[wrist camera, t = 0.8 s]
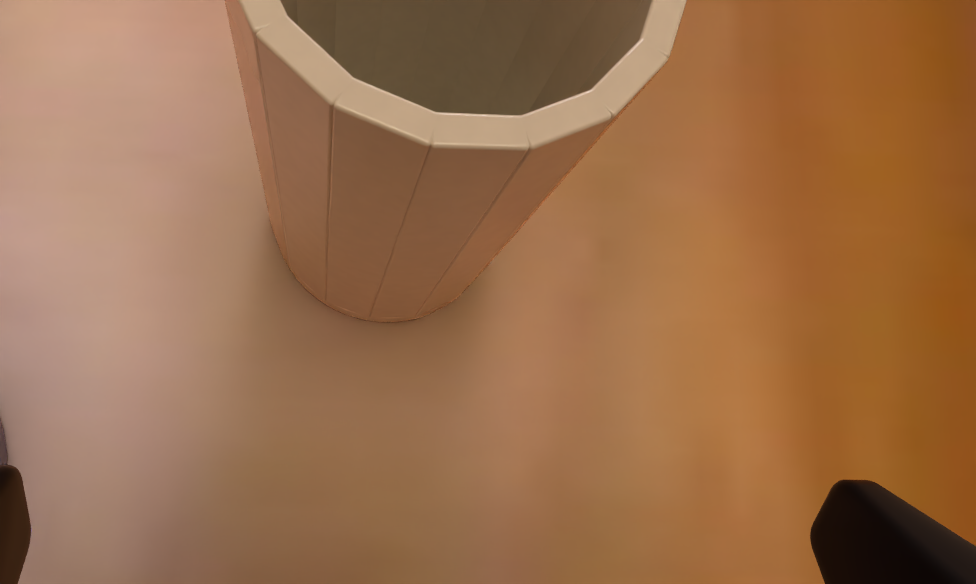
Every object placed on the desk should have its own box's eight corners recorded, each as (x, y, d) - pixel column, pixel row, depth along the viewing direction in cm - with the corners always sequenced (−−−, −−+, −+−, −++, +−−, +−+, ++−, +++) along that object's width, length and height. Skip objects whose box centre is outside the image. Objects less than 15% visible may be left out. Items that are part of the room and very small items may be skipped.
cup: (527, 271, 23) (766, 58, 11) (328, 359, 21) (341, 223, 9) (437, 86, 24) (565, -313, 12) (237, 155, 22) (131, -233, 10)
